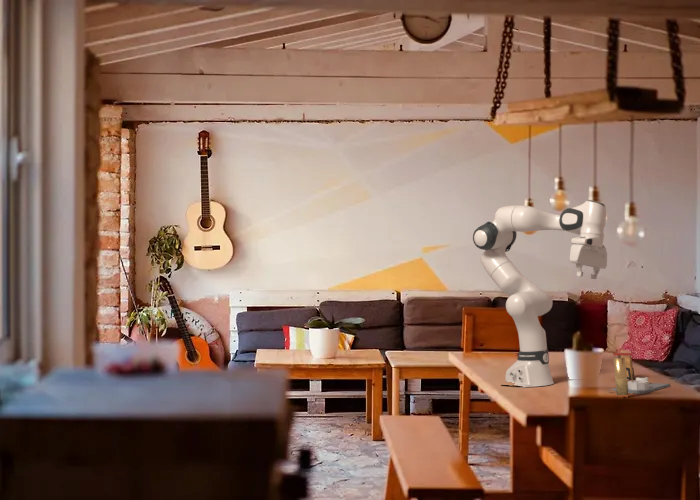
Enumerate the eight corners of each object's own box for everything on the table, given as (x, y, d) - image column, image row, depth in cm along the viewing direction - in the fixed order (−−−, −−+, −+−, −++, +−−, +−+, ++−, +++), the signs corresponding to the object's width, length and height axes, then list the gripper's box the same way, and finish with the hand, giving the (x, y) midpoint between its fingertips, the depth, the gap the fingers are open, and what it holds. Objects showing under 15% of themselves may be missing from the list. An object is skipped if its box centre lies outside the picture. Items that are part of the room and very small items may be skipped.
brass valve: (614, 397, 304) (610, 353, 305) (620, 396, 307) (616, 352, 307) (632, 398, 299) (627, 353, 300) (637, 397, 302) (633, 352, 303)
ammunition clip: (620, 378, 356) (618, 349, 356) (625, 377, 356) (622, 348, 357) (630, 380, 345) (627, 351, 346) (634, 380, 345) (632, 350, 346)
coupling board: (608, 392, 318) (607, 382, 318) (636, 385, 332) (635, 375, 332) (643, 394, 308) (642, 384, 308) (670, 386, 321) (669, 376, 322)
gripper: (599, 245, 340) (594, 279, 340) (569, 238, 327) (564, 274, 327) (613, 246, 335) (608, 281, 335) (583, 239, 322) (578, 275, 322)
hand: (586, 277), depth 331 cm, fingers open, 8 cm apart
